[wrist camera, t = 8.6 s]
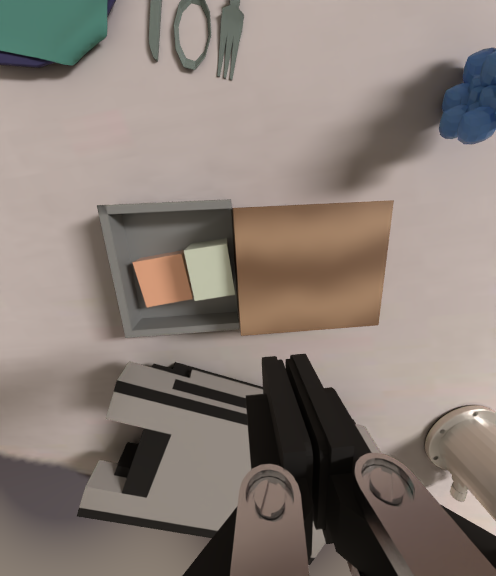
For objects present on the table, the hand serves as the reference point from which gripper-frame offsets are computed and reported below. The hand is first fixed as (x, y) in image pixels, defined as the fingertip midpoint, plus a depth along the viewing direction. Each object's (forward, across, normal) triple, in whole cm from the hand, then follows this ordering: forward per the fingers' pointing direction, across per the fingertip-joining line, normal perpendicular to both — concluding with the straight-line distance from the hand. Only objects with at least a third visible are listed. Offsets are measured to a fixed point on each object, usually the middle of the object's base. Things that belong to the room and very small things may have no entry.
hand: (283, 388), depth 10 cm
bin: (+21, +8, -1) cm, 22 cm away
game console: (+22, +4, +25) cm, 34 cm away
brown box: (+21, -6, -1) cm, 22 cm away
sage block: (+18, +2, -1) cm, 18 cm away
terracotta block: (+18, +9, 0) cm, 20 cm away
